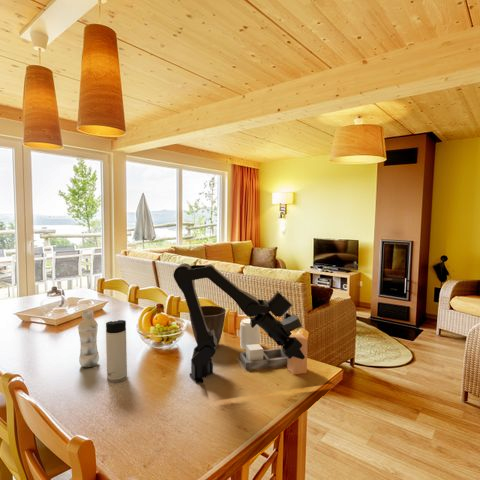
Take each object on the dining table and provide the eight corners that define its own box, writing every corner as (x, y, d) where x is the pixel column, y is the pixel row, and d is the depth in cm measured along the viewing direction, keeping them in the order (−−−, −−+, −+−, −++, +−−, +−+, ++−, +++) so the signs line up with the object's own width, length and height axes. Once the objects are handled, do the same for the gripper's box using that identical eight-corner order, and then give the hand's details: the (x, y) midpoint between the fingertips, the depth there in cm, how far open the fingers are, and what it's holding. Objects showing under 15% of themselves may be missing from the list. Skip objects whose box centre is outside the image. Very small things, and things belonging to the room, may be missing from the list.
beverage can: (258, 353, 132) (258, 324, 131) (238, 352, 133) (238, 322, 132) (261, 346, 140) (261, 318, 139) (242, 344, 141) (242, 316, 140)
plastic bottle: (103, 363, 122) (101, 310, 121) (87, 371, 116) (86, 315, 114) (90, 360, 125) (89, 308, 123) (75, 367, 119) (73, 313, 117)
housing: (244, 374, 114) (244, 364, 114) (236, 361, 125) (236, 351, 124) (294, 368, 119) (294, 358, 119) (282, 355, 130) (282, 346, 129)
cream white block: (249, 366, 118) (250, 350, 117) (245, 360, 123) (246, 345, 122) (263, 365, 119) (263, 349, 119) (258, 359, 124) (258, 343, 123)
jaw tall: (293, 377, 112) (294, 340, 111) (287, 371, 117) (288, 335, 116) (306, 376, 114) (307, 339, 113) (300, 369, 119) (301, 334, 118)
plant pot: (182, 352, 132) (182, 313, 131) (200, 339, 146) (200, 304, 145) (215, 358, 127) (215, 318, 126) (231, 344, 141) (231, 307, 139)
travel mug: (108, 385, 107) (106, 324, 105) (106, 376, 112) (104, 318, 111) (128, 380, 110) (127, 321, 108) (125, 372, 115) (124, 316, 114)
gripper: (296, 316, 104) (328, 348, 107) (279, 301, 122) (306, 328, 125) (272, 342, 103) (304, 374, 106) (258, 323, 121) (286, 350, 124)
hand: (300, 354), depth 115 cm, fingers closed on jaw tall, 5 cm apart
